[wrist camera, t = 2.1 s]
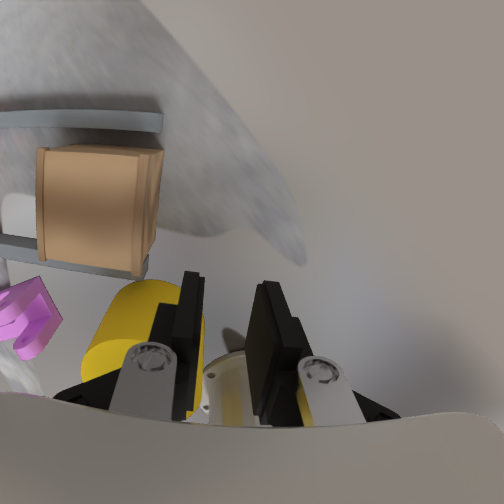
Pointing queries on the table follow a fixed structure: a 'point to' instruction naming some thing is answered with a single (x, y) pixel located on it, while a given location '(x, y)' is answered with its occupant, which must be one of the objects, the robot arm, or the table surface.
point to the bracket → (28, 317)
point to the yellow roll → (133, 329)
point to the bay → (73, 118)
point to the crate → (97, 204)
